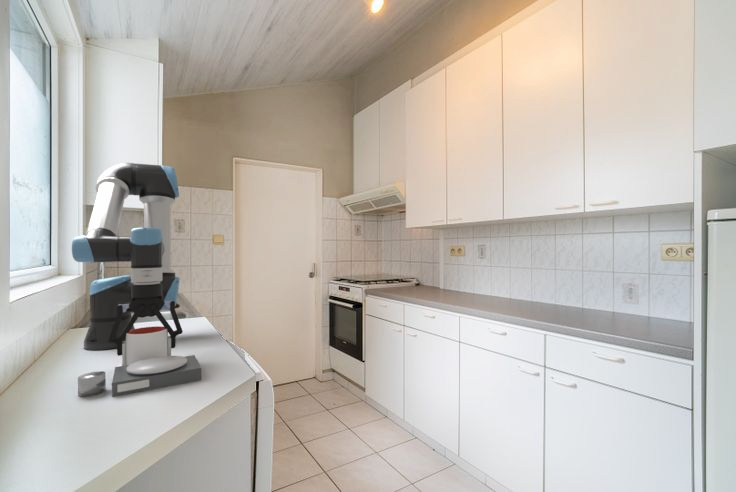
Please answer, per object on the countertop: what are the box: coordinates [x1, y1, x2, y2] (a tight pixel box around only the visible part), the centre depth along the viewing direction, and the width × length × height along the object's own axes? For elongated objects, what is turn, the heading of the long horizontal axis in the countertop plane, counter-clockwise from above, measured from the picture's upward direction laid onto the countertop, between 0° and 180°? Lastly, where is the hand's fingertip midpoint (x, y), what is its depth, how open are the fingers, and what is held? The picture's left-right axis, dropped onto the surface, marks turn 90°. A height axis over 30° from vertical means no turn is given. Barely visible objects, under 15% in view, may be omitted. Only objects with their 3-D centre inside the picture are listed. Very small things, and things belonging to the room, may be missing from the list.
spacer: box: [77, 371, 107, 398], centre depth 82 cm, size 5×5×4 cm
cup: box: [126, 325, 169, 365], centre depth 101 cm, size 10×10×10 cm
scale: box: [111, 355, 202, 397], centre depth 90 cm, size 13×18×4 cm
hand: (147, 363), depth 101 cm, fingers closed on cup, 10 cm apart
